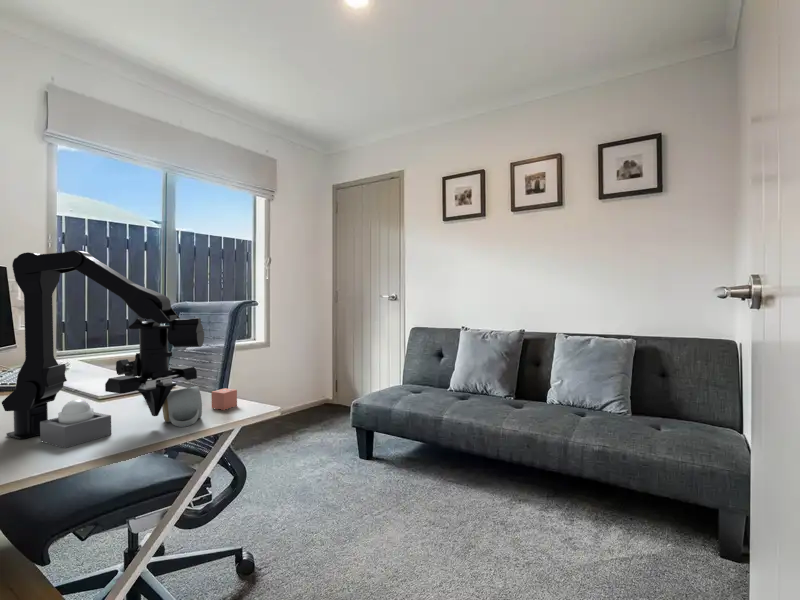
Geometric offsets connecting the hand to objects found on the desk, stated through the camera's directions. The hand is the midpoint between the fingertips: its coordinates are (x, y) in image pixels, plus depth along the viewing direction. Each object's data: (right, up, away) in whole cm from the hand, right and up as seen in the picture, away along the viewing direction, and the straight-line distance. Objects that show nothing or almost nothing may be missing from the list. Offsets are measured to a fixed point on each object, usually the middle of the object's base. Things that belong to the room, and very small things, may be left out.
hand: (155, 415), depth 99 cm
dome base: (-13, -3, -7) cm, 15 cm away
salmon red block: (+9, -2, +17) cm, 19 cm away
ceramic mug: (+4, -3, +5) cm, 7 cm away
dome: (-13, 0, -7) cm, 15 cm away
